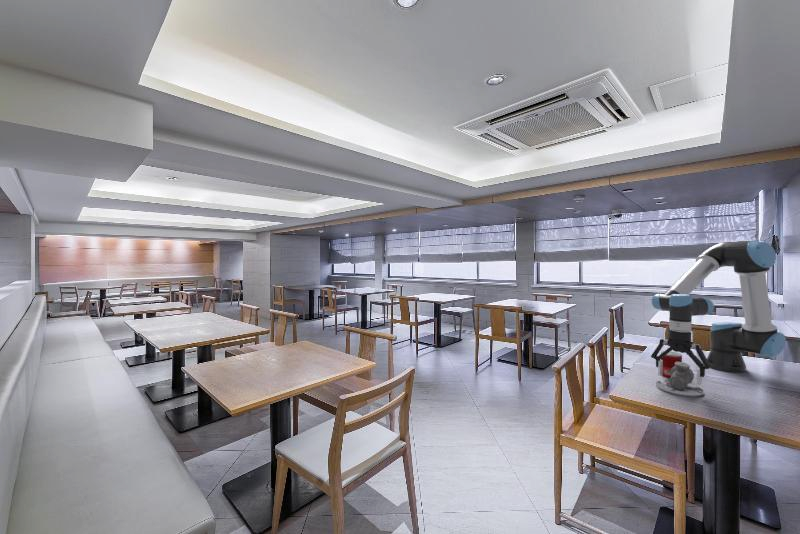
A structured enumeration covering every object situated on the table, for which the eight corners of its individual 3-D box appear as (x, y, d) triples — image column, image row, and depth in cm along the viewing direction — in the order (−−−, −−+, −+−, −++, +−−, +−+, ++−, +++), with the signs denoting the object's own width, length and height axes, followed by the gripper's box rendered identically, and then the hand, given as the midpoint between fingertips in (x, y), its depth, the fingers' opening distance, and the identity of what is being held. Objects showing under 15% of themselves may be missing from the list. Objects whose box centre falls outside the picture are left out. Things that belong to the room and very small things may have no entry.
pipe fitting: (670, 378, 158) (672, 357, 156) (693, 385, 152) (695, 363, 150) (664, 389, 150) (666, 366, 148) (688, 396, 144) (690, 372, 142)
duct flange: (663, 380, 162) (663, 376, 162) (708, 390, 149) (708, 387, 149) (649, 388, 152) (649, 384, 152) (696, 400, 139) (696, 396, 139)
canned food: (685, 379, 162) (685, 356, 162) (665, 378, 164) (666, 355, 164) (675, 373, 170) (676, 351, 169) (657, 372, 171) (657, 350, 171)
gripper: (643, 326, 158) (642, 373, 158) (715, 337, 137) (714, 390, 138) (649, 324, 162) (649, 369, 163) (721, 334, 142) (719, 386, 142)
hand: (679, 379), depth 150 cm, fingers open, 13 cm apart
